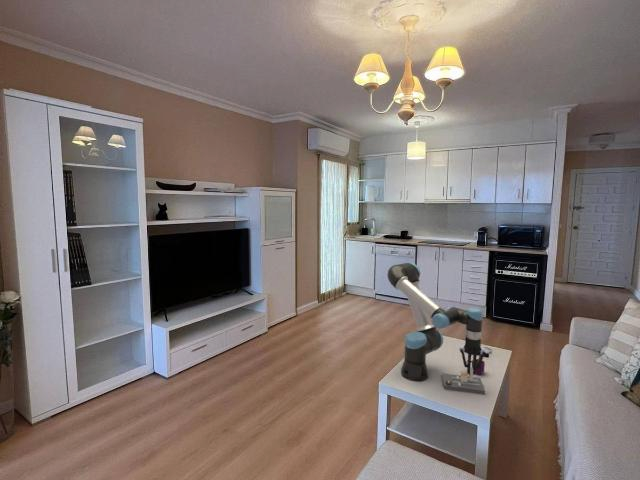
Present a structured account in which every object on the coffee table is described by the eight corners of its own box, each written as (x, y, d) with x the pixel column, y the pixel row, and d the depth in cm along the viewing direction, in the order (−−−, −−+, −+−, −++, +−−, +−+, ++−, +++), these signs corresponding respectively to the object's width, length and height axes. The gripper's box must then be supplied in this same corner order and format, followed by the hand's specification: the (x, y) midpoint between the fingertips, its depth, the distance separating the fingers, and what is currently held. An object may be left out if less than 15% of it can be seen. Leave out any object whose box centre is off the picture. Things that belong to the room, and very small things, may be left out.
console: (443, 389, 184) (444, 383, 184) (441, 376, 198) (442, 371, 197) (484, 394, 179) (485, 388, 179) (480, 381, 192) (480, 375, 192)
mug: (482, 376, 197) (483, 365, 197) (464, 371, 204) (464, 360, 203) (485, 372, 203) (486, 361, 202) (467, 367, 209) (468, 356, 208)
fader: (460, 381, 187) (461, 373, 186) (460, 379, 190) (460, 371, 189) (467, 382, 186) (468, 374, 186) (466, 380, 189) (467, 372, 188)
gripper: (461, 339, 182) (458, 381, 185) (488, 341, 179) (485, 385, 182) (459, 333, 190) (456, 374, 192) (485, 336, 186) (482, 378, 189)
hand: (470, 379), depth 187 cm, fingers closed
